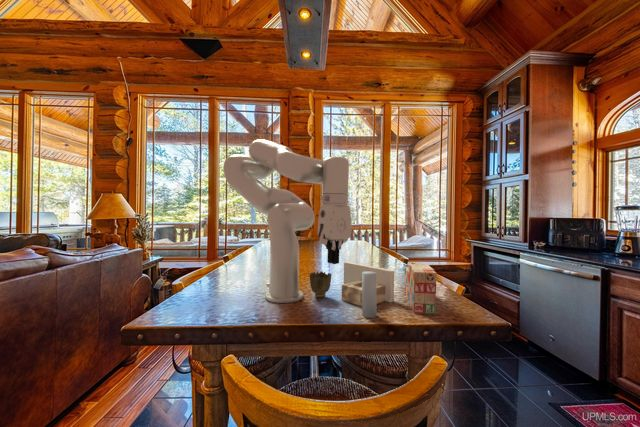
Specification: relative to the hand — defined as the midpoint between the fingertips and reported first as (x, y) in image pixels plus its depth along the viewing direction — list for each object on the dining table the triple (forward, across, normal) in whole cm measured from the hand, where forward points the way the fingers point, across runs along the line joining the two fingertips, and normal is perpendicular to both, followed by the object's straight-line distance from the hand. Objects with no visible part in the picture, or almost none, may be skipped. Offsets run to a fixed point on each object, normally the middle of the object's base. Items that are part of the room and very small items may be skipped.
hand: (333, 262), depth 84 cm
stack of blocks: (+14, +27, -14) cm, 33 cm away
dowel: (+14, +5, -10) cm, 18 cm away
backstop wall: (+14, +20, +2) cm, 25 cm away
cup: (+14, +6, +11) cm, 19 cm away
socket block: (+14, +14, -1) cm, 20 cm away
